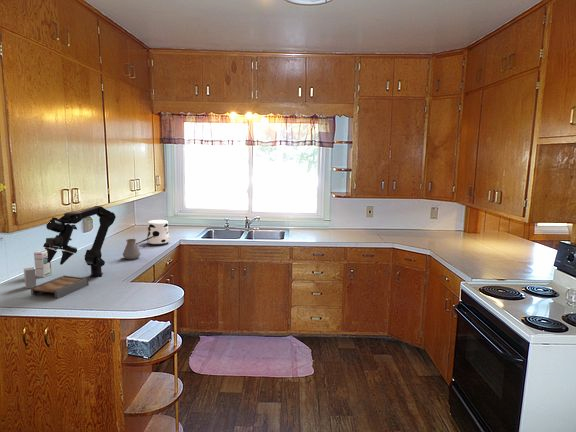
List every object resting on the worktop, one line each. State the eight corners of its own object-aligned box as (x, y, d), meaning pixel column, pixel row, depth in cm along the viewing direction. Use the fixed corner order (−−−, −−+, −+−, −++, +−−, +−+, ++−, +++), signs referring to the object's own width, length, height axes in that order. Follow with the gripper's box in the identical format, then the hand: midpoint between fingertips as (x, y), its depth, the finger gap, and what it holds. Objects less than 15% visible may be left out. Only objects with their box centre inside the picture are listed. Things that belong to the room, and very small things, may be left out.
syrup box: (44, 277, 231) (42, 252, 229) (35, 276, 232) (33, 252, 230) (51, 274, 237) (50, 250, 235) (43, 273, 238) (41, 249, 236)
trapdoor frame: (64, 282, 224) (63, 275, 223) (88, 285, 220) (88, 278, 219) (31, 295, 203) (30, 287, 202) (57, 298, 199) (56, 291, 199)
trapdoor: (63, 283, 221) (63, 277, 220) (82, 285, 218) (81, 279, 217) (34, 294, 202) (33, 288, 202) (54, 297, 200) (53, 290, 199)
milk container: (174, 243, 323) (173, 221, 320) (157, 247, 308) (156, 224, 305) (159, 240, 331) (158, 218, 329) (142, 244, 317) (141, 221, 314)
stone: (25, 286, 216) (23, 268, 214) (34, 284, 219) (33, 267, 217) (26, 288, 212) (25, 270, 211) (36, 287, 215) (35, 269, 214)
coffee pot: (122, 260, 269) (121, 239, 266) (123, 256, 280) (122, 235, 277) (155, 258, 276) (155, 237, 273) (155, 254, 286) (155, 234, 284)
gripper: (39, 229, 212) (28, 257, 208) (65, 232, 205) (54, 262, 201) (57, 234, 222) (47, 262, 217) (82, 238, 215) (72, 267, 210)
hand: (54, 263), depth 211 cm, fingers open, 9 cm apart
